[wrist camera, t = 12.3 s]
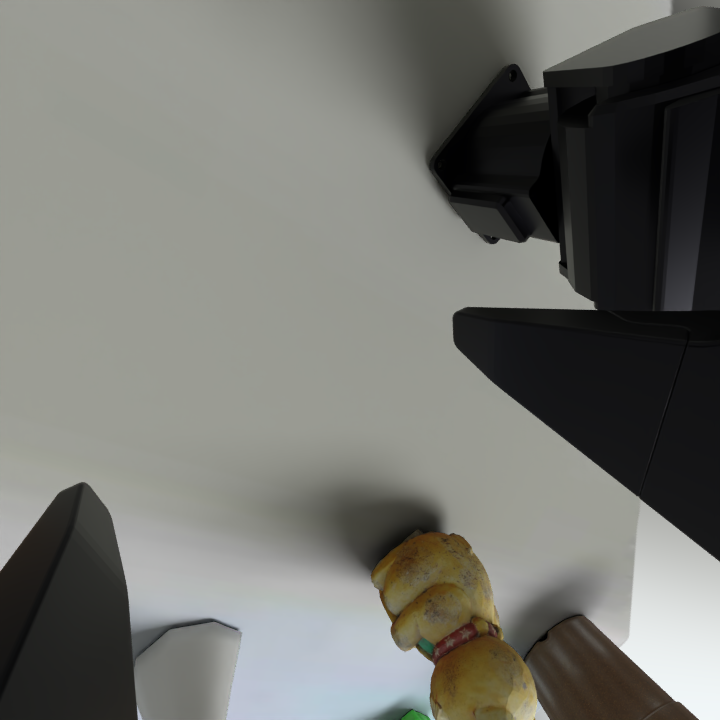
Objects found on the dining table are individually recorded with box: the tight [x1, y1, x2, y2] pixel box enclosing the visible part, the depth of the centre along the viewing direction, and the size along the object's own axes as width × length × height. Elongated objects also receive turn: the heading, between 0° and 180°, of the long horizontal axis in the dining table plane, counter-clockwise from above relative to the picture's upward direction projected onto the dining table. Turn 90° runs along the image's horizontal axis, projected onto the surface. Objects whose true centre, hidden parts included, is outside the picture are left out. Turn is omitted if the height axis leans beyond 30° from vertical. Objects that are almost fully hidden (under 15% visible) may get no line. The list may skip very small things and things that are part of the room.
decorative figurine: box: [371, 529, 537, 720], centre depth 29 cm, size 10×8×15 cm
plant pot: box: [524, 616, 699, 720], centre depth 51 cm, size 16×16×16 cm
